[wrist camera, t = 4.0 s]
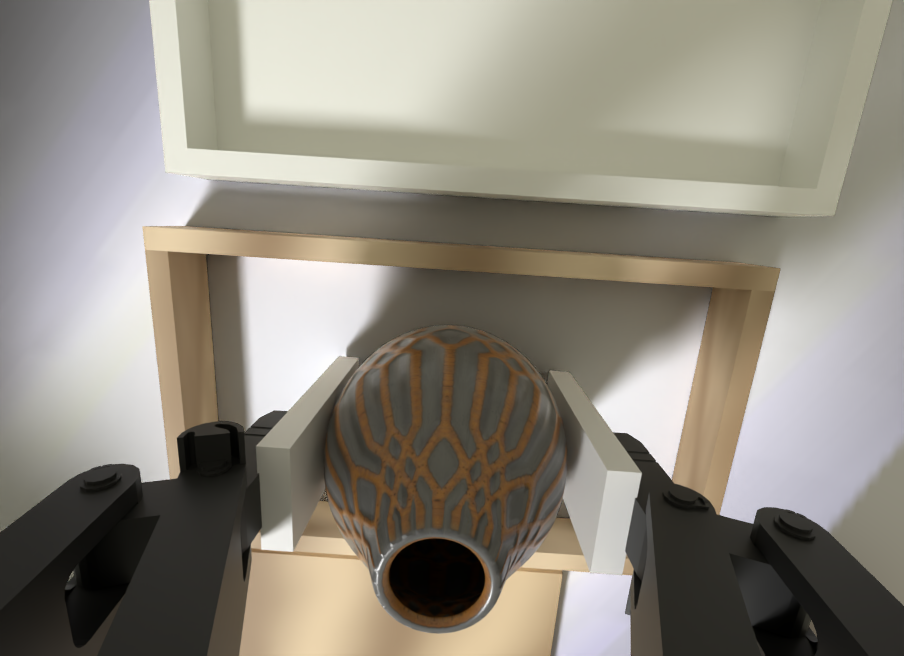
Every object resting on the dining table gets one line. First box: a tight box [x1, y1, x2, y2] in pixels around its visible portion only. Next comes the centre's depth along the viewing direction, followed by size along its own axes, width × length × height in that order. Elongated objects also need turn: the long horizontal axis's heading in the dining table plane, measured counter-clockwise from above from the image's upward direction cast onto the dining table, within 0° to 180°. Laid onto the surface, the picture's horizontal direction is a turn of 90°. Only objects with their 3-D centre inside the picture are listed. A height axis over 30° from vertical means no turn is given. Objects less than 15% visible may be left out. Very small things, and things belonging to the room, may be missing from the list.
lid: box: [239, 548, 563, 656], centre depth 18 cm, size 14×6×1 cm, turn 86°
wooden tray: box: [143, 226, 780, 575], centre depth 15 cm, size 19×11×2 cm, turn 86°
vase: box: [324, 325, 567, 634], centre depth 12 cm, size 7×7×9 cm
